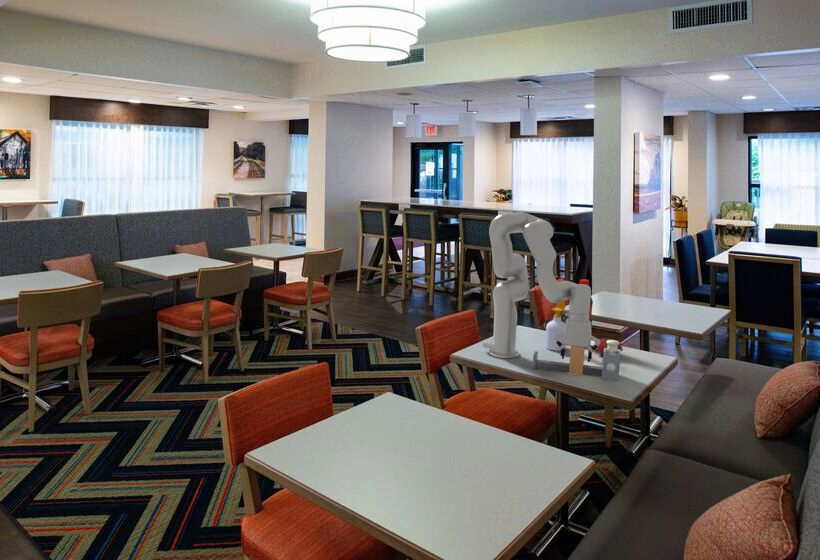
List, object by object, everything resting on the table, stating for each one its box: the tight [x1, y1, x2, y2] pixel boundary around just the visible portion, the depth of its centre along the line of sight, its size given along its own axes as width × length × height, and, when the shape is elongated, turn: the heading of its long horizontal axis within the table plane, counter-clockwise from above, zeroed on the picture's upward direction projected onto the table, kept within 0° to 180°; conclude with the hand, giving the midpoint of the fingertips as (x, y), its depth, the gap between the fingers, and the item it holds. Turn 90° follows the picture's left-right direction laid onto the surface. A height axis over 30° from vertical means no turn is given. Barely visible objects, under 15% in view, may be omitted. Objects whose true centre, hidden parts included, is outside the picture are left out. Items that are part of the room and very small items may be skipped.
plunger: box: [606, 339, 620, 354], centre depth 225 cm, size 5×5×5 cm
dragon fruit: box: [593, 337, 624, 356], centre depth 252 cm, size 8×8×12 cm
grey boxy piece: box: [601, 348, 621, 382], centre depth 226 cm, size 6×8×10 cm
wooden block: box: [568, 346, 586, 376], centre depth 230 cm, size 5×7×11 cm
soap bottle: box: [544, 301, 567, 352], centre depth 260 cm, size 9×9×25 cm
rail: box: [532, 350, 602, 378], centre depth 231 cm, size 27×5×6 cm, turn 72°
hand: (575, 359), depth 230 cm, fingers open, 9 cm apart
